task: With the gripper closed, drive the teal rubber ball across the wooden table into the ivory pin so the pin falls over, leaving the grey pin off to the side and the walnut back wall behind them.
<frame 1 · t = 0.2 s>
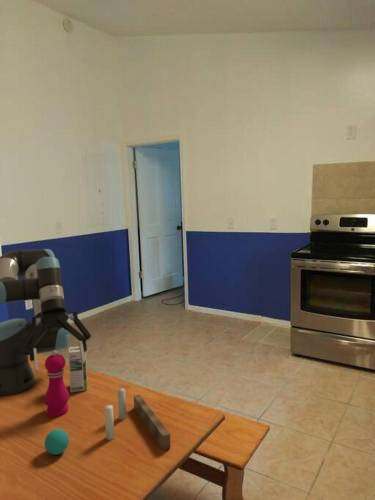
hand: (60, 366, 117), 16 cm above the table, tool tilted 35°, fingers open, 13 cm apart
grey pin: (122, 418, 117), on the table
syrup box: (79, 388, 137), on the table
ball: (56, 441, 101), on the table
ivory pin: (110, 437, 107), on the table
back wall: (150, 426, 113), on the table
pepper mill: (57, 412, 121), on the table
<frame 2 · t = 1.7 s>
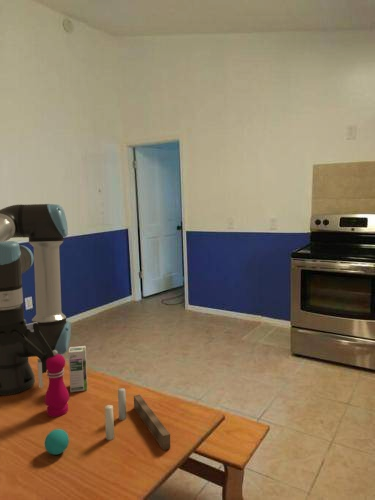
hand: (11, 391, 95), 19 cm above the table, tool pointing down, fingers open, 13 cm apart
nothing on the table moved.
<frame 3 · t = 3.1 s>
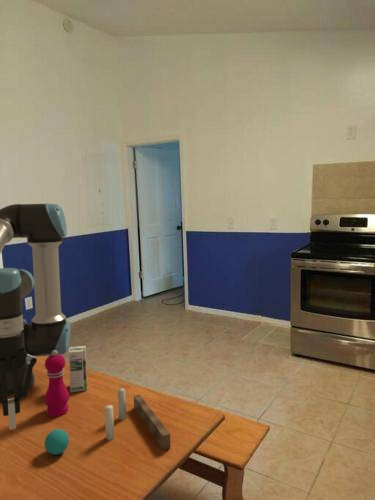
hand: (12, 426, 95), 10 cm above the table, tool pointing down, fingers closed
nothing on the table moved.
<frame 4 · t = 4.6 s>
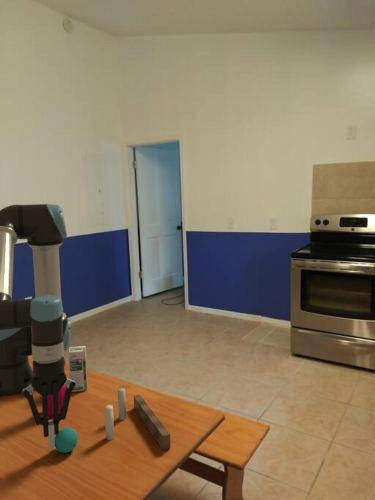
hand: (51, 446, 100), 2 cm above the table, tool pointing down, fingers closed
ball: (66, 439, 102), on the table, touching gripper
everything else where it was.
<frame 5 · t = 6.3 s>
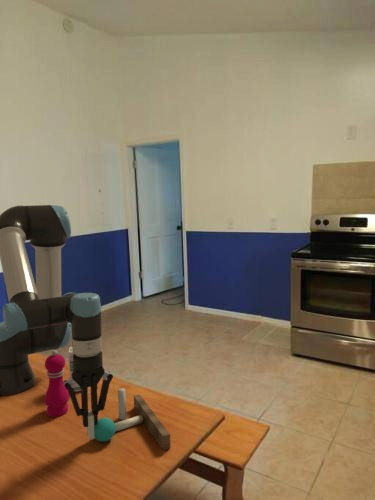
hand: (90, 436, 105), 2 cm above the table, tool pointing down, fingers closed
ball: (104, 429, 106), on the table, touching gripper
ivory pin: (113, 428, 110), point 1 cm above the table, tilted 90°
everything else where it was.
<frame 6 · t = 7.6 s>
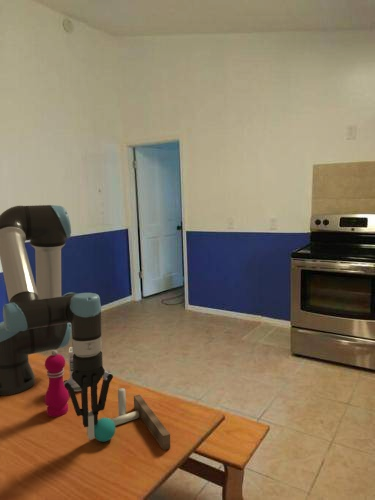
hand: (90, 436, 105), 2 cm above the table, tool pointing down, fingers closed
ivory pin: (109, 423, 113), point 1 cm above the table, tilted 90°
everything else where it was.
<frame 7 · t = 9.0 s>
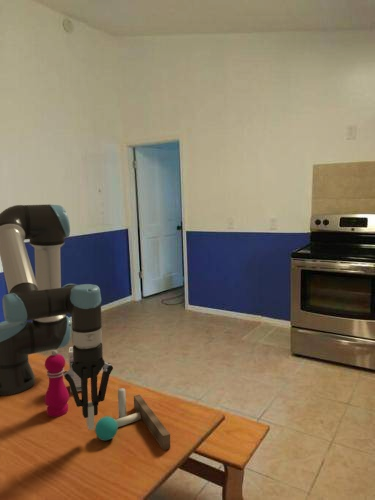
hand: (90, 426, 105), 4 cm above the table, tool pointing down, fingers closed
ball: (106, 428, 107), on the table
ivory pin: (110, 425, 112), point 1 cm above the table, tilted 90°
everything else where it was.
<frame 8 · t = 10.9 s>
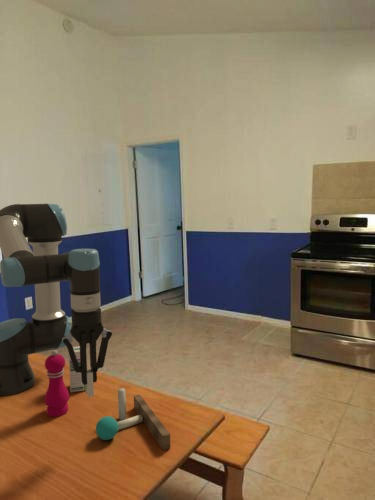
hand: (89, 394, 104), 14 cm above the table, tool pointing down, fingers closed
ivory pin: (112, 427, 111), point 1 cm above the table, tilted 90°
everything else where it was.
at the end: ivory pin tilted 90°; ivory pin never touched the robot; ball moved 13.3 cm from its start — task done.
